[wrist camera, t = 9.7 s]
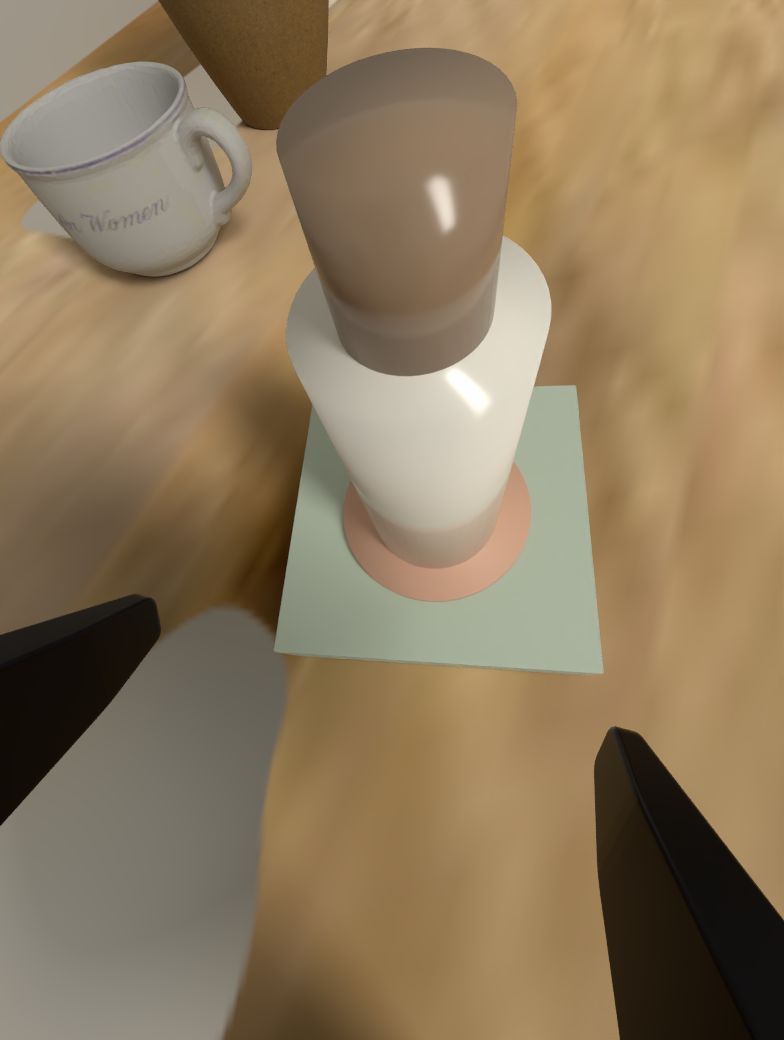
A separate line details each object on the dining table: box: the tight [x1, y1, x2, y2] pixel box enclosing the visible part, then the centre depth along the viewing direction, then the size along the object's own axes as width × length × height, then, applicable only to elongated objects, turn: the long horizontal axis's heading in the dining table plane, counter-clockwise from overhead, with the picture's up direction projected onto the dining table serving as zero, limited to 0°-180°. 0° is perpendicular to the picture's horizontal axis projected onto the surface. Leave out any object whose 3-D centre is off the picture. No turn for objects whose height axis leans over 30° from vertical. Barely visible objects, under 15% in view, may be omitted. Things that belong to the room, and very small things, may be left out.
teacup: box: [0, 62, 252, 277], centre depth 27 cm, size 14×11×8 cm
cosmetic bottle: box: [276, 48, 551, 569], centre depth 11 cm, size 5×5×13 cm
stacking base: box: [274, 386, 603, 675], centre depth 19 cm, size 12×12×3 cm
